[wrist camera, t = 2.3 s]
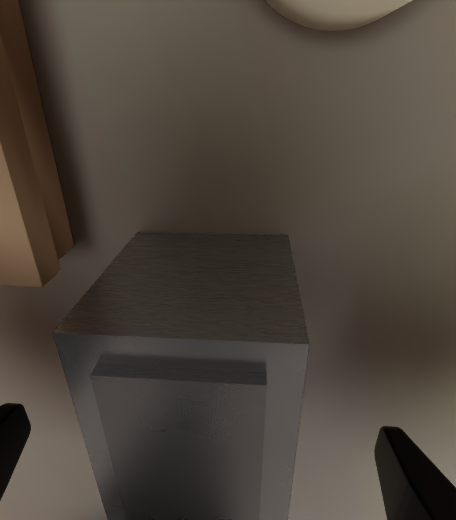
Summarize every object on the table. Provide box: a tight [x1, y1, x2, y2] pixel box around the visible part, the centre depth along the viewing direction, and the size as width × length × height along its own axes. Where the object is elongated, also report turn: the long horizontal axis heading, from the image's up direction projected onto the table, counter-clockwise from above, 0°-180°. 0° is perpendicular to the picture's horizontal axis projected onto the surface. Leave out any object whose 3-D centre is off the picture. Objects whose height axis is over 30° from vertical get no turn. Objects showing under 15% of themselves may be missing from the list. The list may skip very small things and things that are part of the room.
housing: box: [53, 232, 309, 520], centre depth 10 cm, size 7×5×5 cm, turn 1°
